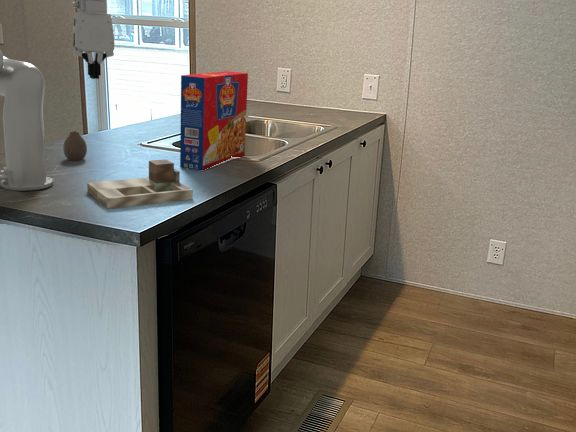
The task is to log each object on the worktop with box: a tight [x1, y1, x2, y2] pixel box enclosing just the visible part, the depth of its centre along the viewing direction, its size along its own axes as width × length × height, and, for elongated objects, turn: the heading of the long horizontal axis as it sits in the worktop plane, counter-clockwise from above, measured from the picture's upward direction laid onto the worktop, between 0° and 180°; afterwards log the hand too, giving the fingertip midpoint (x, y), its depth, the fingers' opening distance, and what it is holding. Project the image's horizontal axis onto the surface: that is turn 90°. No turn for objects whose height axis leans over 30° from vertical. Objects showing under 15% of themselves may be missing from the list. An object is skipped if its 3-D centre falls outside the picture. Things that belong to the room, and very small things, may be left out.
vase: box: [62, 130, 88, 162], centre depth 196 cm, size 7×7×9 cm
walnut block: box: [148, 159, 175, 183], centre depth 168 cm, size 5×5×5 cm
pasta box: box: [179, 70, 249, 171], centre depth 202 cm, size 28×8×28 cm, turn 157°
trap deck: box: [86, 168, 194, 210], centre depth 162 cm, size 22×16×6 cm
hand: (94, 78), depth 173 cm, fingers closed
